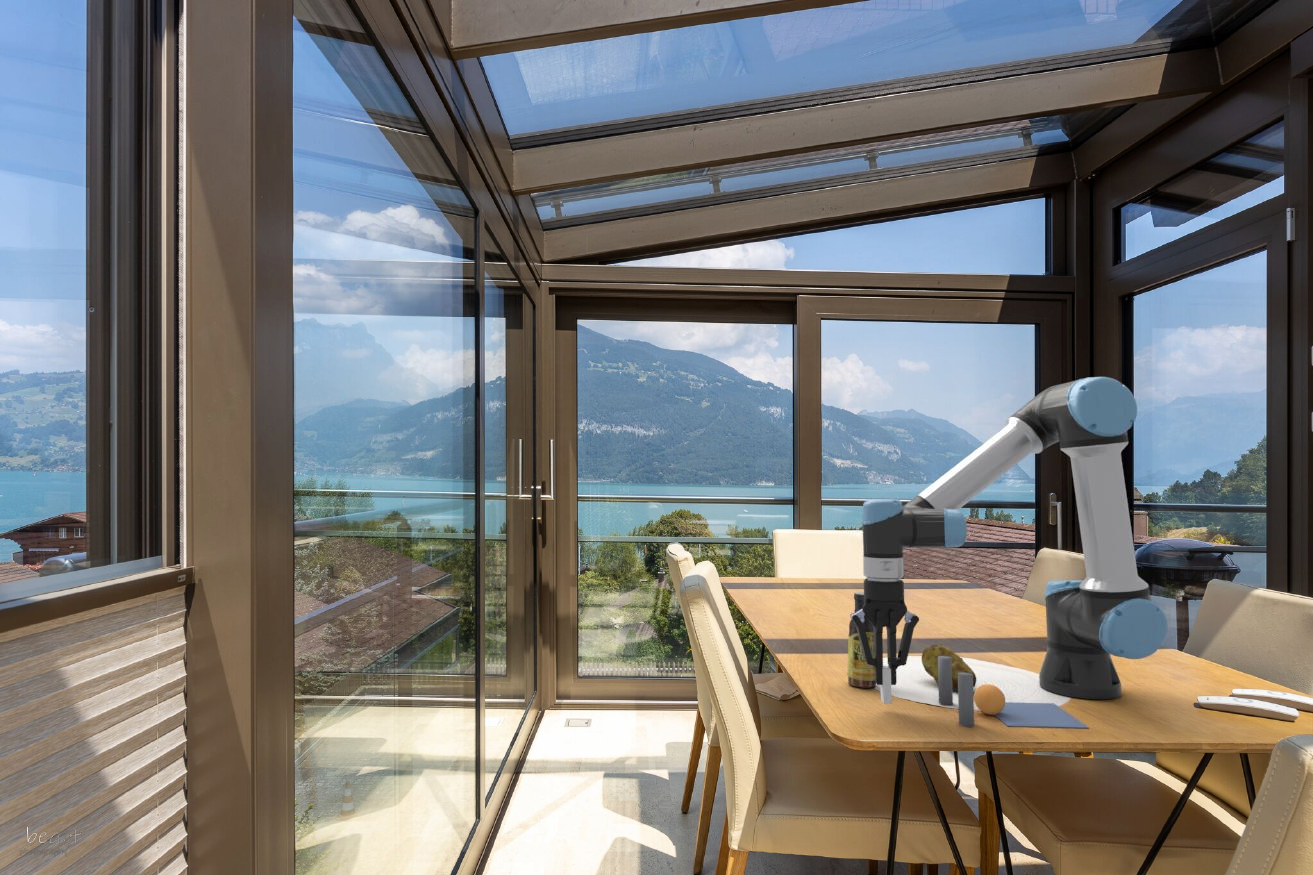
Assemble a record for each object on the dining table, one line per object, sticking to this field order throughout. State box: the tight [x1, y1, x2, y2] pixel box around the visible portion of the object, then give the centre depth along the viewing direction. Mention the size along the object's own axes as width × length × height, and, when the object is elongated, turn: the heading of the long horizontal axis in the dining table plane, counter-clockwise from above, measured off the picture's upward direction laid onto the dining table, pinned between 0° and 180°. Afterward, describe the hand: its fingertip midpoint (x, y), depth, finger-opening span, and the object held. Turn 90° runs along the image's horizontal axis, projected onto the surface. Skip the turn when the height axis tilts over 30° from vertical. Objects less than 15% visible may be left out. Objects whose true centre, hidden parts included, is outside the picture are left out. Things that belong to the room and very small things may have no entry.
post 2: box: [957, 672, 975, 728], centre depth 135 cm, size 3×3×9 cm
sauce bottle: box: [847, 591, 877, 689], centre depth 160 cm, size 6×6×20 cm
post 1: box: [937, 656, 954, 706], centre depth 147 cm, size 3×3×9 cm
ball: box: [973, 683, 1006, 716], centre depth 140 cm, size 6×6×6 cm
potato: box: [921, 644, 977, 691], centre depth 159 cm, size 8×13×8 cm, turn 3°
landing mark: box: [994, 701, 1089, 729], centre depth 140 cm, size 14×14×1 cm
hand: (886, 701), depth 142 cm, fingers closed
